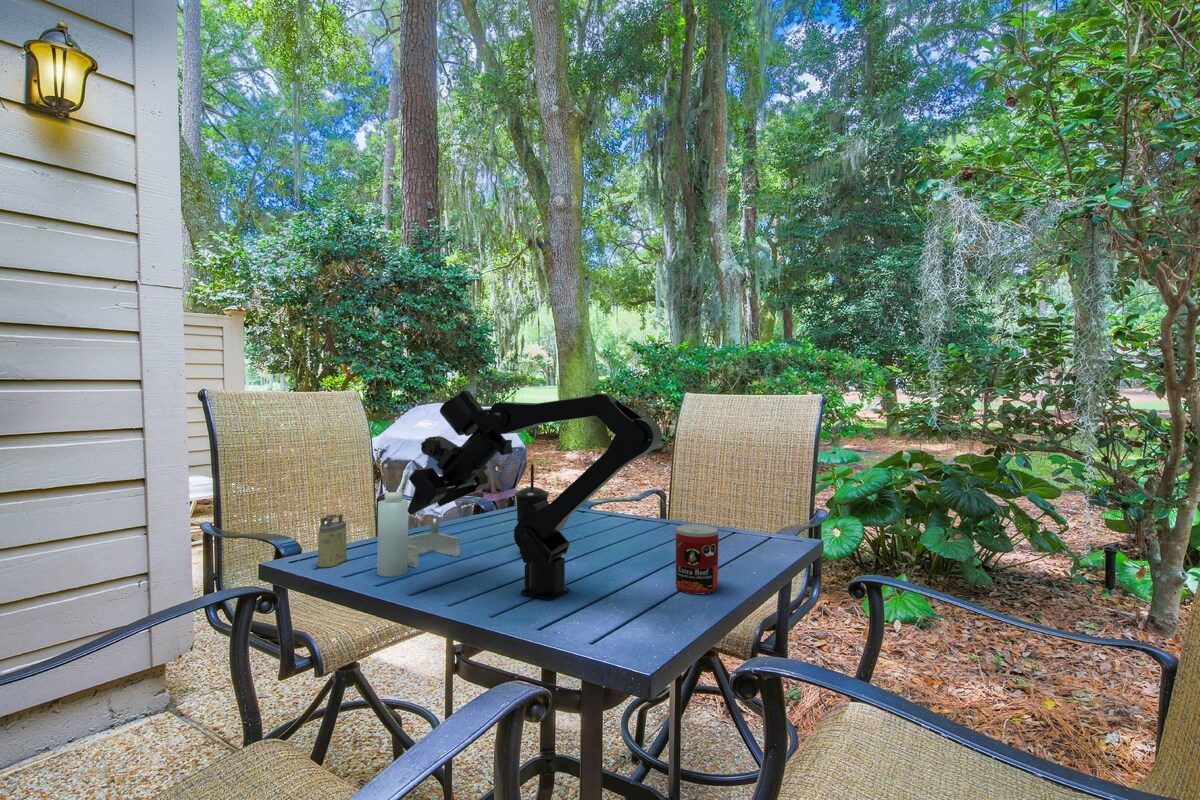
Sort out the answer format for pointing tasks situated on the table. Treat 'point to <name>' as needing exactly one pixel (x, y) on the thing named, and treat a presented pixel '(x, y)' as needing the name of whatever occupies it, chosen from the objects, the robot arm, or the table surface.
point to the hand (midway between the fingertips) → (424, 508)
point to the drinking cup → (529, 497)
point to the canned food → (696, 558)
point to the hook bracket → (431, 544)
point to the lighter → (332, 541)
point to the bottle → (392, 535)
